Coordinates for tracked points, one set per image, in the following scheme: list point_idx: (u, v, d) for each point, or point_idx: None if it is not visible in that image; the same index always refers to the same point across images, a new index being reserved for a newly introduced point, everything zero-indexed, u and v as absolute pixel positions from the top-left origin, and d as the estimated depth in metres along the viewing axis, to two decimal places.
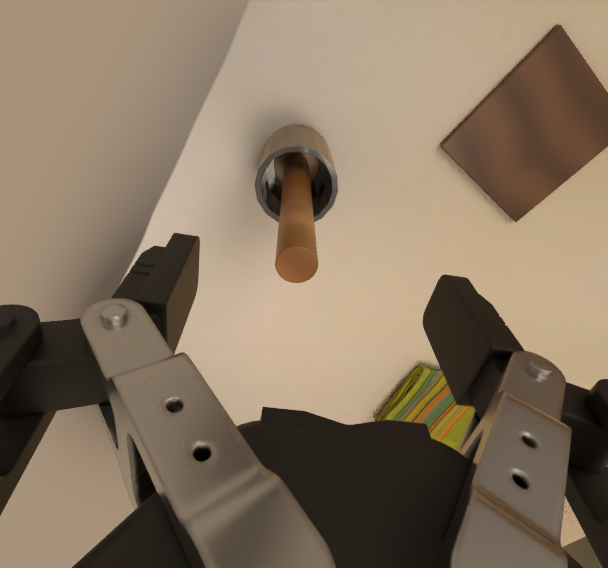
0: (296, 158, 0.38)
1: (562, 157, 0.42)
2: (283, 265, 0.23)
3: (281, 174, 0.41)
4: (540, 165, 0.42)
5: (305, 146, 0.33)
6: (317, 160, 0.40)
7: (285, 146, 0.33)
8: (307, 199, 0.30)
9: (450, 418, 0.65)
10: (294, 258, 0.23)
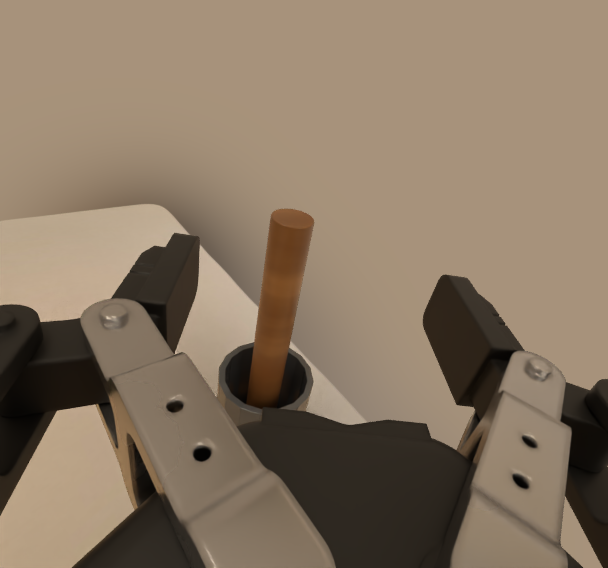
0: None
1: None
2: (297, 213, 0.23)
3: None
4: None
5: (305, 401, 0.29)
6: None
7: (312, 385, 0.30)
8: (283, 335, 0.26)
9: None
10: (301, 219, 0.23)
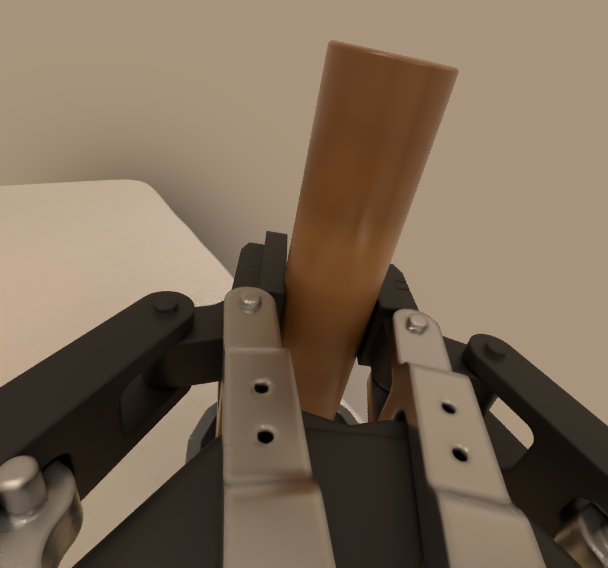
0: None
1: None
2: None
3: None
4: None
5: None
6: None
7: None
8: (332, 388, 0.11)
9: None
10: (418, 59, 0.08)
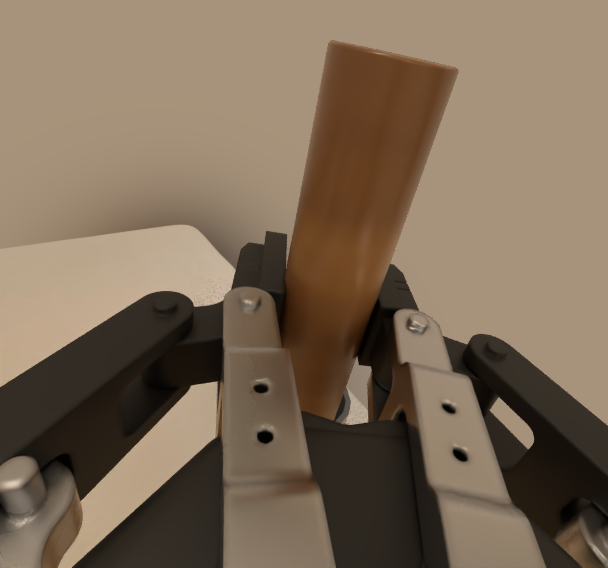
0: None
1: None
2: (399, 55, 0.08)
3: None
4: None
5: (345, 418, 0.34)
6: None
7: (349, 404, 0.36)
8: (333, 387, 0.11)
9: None
10: None
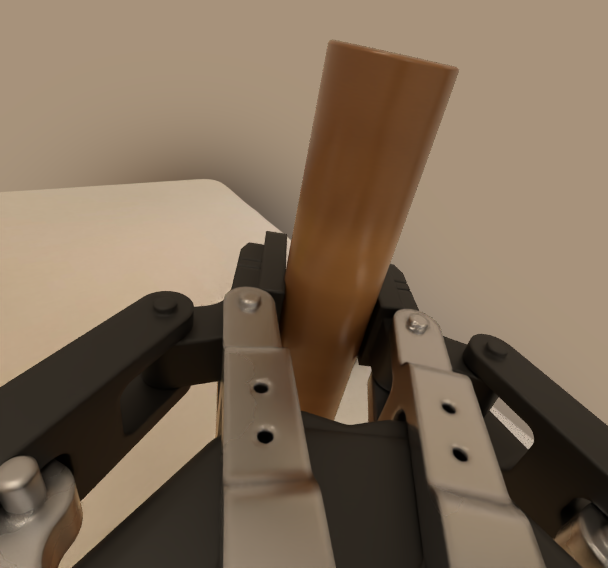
0: None
1: None
2: (399, 54, 0.08)
3: None
4: None
5: None
6: None
7: None
8: (333, 388, 0.11)
9: None
10: None
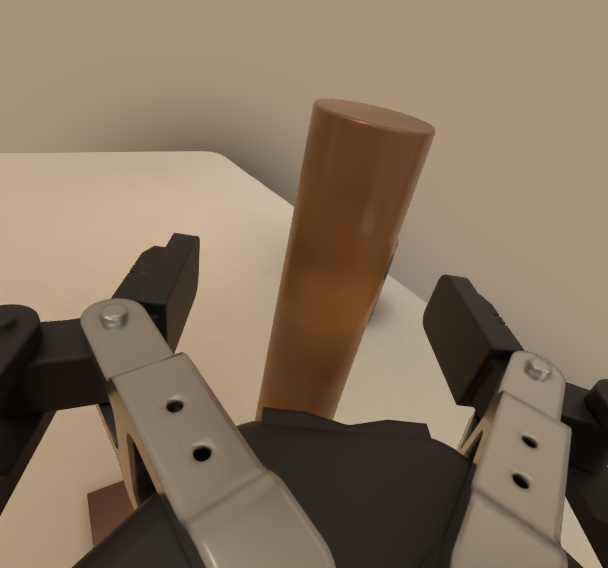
0: None
1: None
2: (381, 110, 0.09)
3: None
4: None
5: (394, 249, 0.35)
6: None
7: (397, 241, 0.37)
8: (322, 415, 0.12)
9: None
10: (398, 118, 0.08)
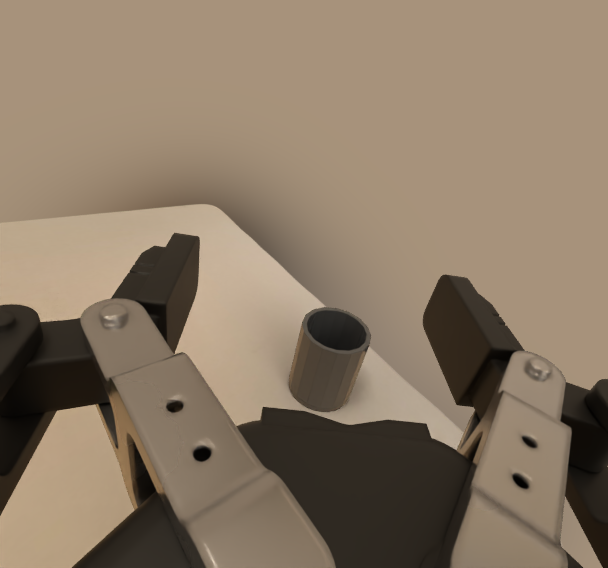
0: None
1: None
2: None
3: None
4: None
5: (366, 347, 0.40)
6: None
7: None
8: None
9: None
10: None
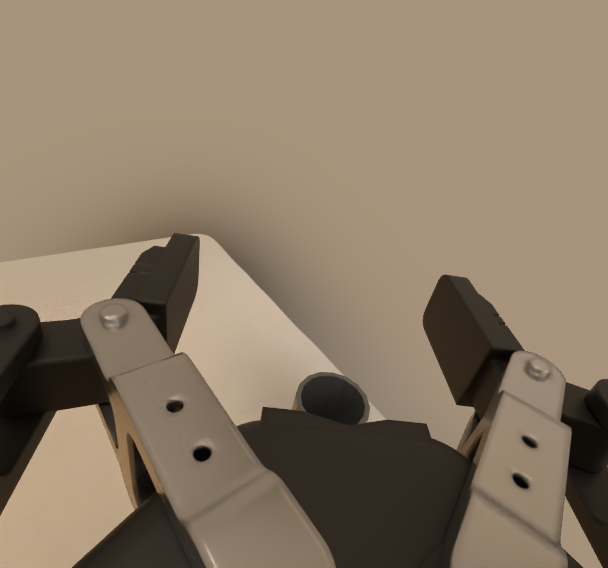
0: None
1: None
2: None
3: None
4: None
5: (365, 422, 0.37)
6: None
7: (369, 409, 0.38)
8: None
9: None
10: None
